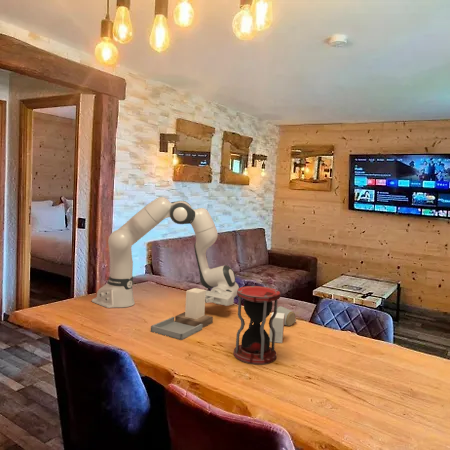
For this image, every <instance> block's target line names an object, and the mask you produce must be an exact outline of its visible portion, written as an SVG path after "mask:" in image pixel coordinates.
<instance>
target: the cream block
mask: <svg viewBox="0 0 450 450" xmlns="http://www.w3.org/2000/svg"><path fill="white" fill-rule="evenodd" d="M205 294H206V289H202V288H198V287H194V288H191V289H188V290H186V291H185V309H184V310H185V311H184V312H185V317H188V318H193V319H198V318H200V317H202V316H204V315H206V314H205V312H206V303H205Z"/></svg>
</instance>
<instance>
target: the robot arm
mask: <svg viewBox="0 0 450 450" xmlns="http://www.w3.org/2000/svg"><path fill="white" fill-rule="evenodd" d="M168 218H170V219H171V221H172V222H173V223H175V224H177V225H191V227H192V229H193V232H194V235H195V243H194V246H193V248H194V253H195V258H196V263H197V268H198V271H199V281H200V284H201V285H202V287H204V288H206V289H207V290H206V289H205V290H206V294H205V304H208V303H210V304H211V303H213V304H215V305H221V306H225V307H228V306H229V307H230V306H232V305H233V304H234V300H235V297H237V296H238V295H237V290H238V288H240V287H239V283H237V281H236V275H235V272H234V270H233V269H232V267H231V266H229V265H228V264H227V265H226V264H225V265H221V266H217V267H213V268H210V267H209V263H208V259H207V255H206V254H207V251H208V249H209V248H210V247H212V245H214V244H215V243H216V241H217V239H218V236H219V235H218V229H217V227H216V224H215V221H214V220H213V218H212V216H211V214H210V211H208V209H206V208H205V207H200V208H195V209H194V208H192V205H190V203H189V202H187V201H186V200H177V201H172V202H171V201H169V200H168V199H167V198H166V197H164V196H163V197H162V196H159V197H157V198H156V199H154V200H152V201H151V202H148V204H146V205H145V206H144V207H142V208H141V209H140V210H139V211H137V212H136V213H135V214H134V215H133V216H131V218H130V219H128V220H127V221H125V223H123V225H122V226H120V227H119V228H117V229H116V230H114V231H112V232H111V233H110V235H109V237H108V241H107V244H108V250H109V252H108V253H109V260H110V266H109V267H110V269H109V272H110V275H109V276H108V277H107V276H106V278H105V280H106V281H107V282H106V283H105V284H104V285H103V286H101V287H100V288H98V290H97V291H96V297H94V298H91V302H92V303H94V304H97V305H99V306H101V307H104V308H107V309H109V308H110V309H111V308H128V307H131V306H134V305H135V303H136V302H135V299H134V291H133V290H134V289H133V284H134V276H133V268H134V267H133V266H134V261H133V255H132V254H133V253H132V252H133V251H132V246H134V245H135V244H136V243H137V242H138V241H140V240H141V239H142V238H144V236H145V235H147V234H148V233H150V232H151V230H153V229H154V228H155V227H157V226H158V225H159V224H160V223H162V222H163V221H164V220H165V219H168ZM209 289H210V290H209Z"/></svg>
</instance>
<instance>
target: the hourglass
mask: <svg viewBox="0 0 450 450" xmlns="http://www.w3.org/2000/svg"><path fill="white" fill-rule="evenodd" d="M236 296H238V302H237V303H238V304H237V317H238V319H239V320H240V327H239V329H238V330H237V331H236V339H235V347H234V348H233V356H234V358H236V360H238V361H240V362H243V363H247V364H251V365H266V364H270V363H273V362H274V361H275V360H276V359H277V352H276V350H275V344H276V342H275V329H274V328H273V326H272V322H273V319H274V318H275V316H276V314H277V307H278V300H279V299H281V292H280V290H277V289H275V288H272V287H267V286H259V285H248V286H246V285H245V286H241V287H239V288H238V290H237V295H236ZM242 300H243V309H244V312H245V314H246V316H247V317H248V318H249V324H248V328H247V329H246V330H245V331H244V328H245V324H246V323H245V319H244V318H243V316H242ZM273 302H274V303H273ZM273 304H274V305H273ZM272 310H273V312H274V313H273V316H272V317H271V316H270V314H272ZM269 316H270V317H271V318H269V321H268V327H269V329H270V328H271V330H272V342H270V338H269V333H268V332H267V331H266V330H265V324H266V321H267V318H268V317H269ZM242 331H244V333H243V334H242V337H241V342H240V336H241V332H242ZM240 343H241V344H240Z"/></svg>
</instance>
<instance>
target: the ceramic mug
mask: <svg viewBox="0 0 450 450" xmlns="http://www.w3.org/2000/svg"><path fill="white" fill-rule="evenodd" d="M277 313H285V319H284V326H287V327H289V326H290V327H291V326H292V325H293V324H294V323H296V322H297V318H296V317H297V316H296V313H295V312H294V311H293V310H291V309H289V308H286V307H284V306H277Z"/></svg>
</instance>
